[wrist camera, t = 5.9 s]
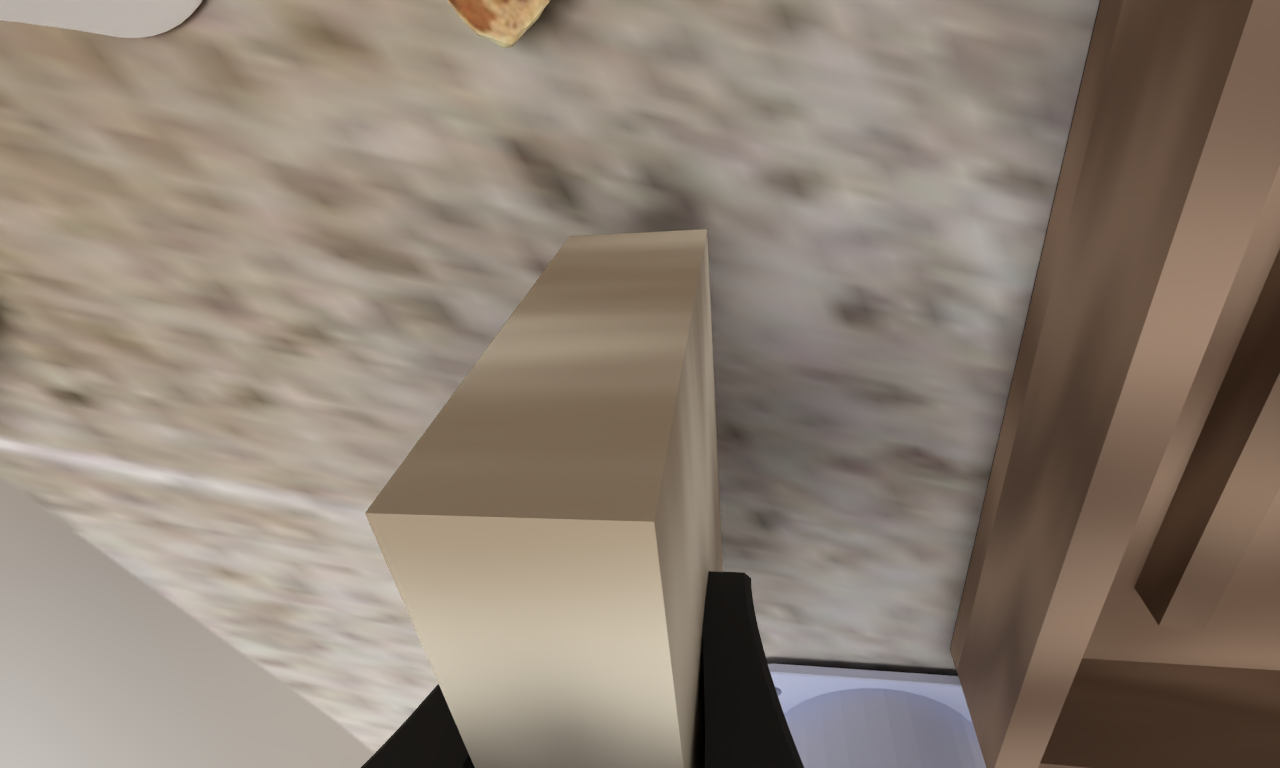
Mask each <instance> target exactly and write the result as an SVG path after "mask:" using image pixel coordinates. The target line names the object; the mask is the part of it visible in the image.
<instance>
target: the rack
mask: <svg viewBox="0 0 1280 768" xmlns="http://www.w3.org/2000/svg"><path fill="white" fill-rule="evenodd" d="M950 650H951V654H952V657H953V660H954V664H955V667H956V670H957V673H958V677H959V680H960V683H961V686H962V690H963V693H964V696H965V699H966V703H967V706H968V709H969V713H970V716H971V719H972V722H973V726H974V729H975V732H976V735H977V739H978V742H979V745H980V749H981V752H982V755H983V758H984V762H985V765H986V768H1280V0H1101V1H1100V5H1099V10H1098V14H1097V18H1096V23H1095V27H1094V31H1093V36H1092V40H1091V44H1090V48H1089V53H1088V57H1087V61H1086V66H1085V70H1084V74H1083V79H1082V83H1081V87H1080V92H1079V96H1078V100H1077V104H1076V109H1075V113H1074V117H1073V122H1072V126H1071V130H1070V135H1069V139H1068V143H1067V148H1066V152H1065V156H1064V160H1063V165H1062V169H1061V173H1060V178H1059V182H1058V186H1057V191H1056V195H1055V199H1054V204H1053V208H1052V212H1051V217H1050V221H1049V225H1048V229H1047V234H1046V238H1045V242H1044V247H1043V251H1042V255H1041V260H1040V264H1039V268H1038V273H1037V277H1036V281H1035V285H1034V290H1033V294H1032V298H1031V303H1030V307H1029V311H1028V316H1027V320H1026V324H1025V329H1024V333H1023V337H1022V341H1021V346H1020V350H1019V354H1018V359H1017V363H1016V367H1015V372H1014V376H1013V380H1012V385H1011V389H1010V393H1009V397H1008V402H1007V406H1006V410H1005V415H1004V419H1003V423H1002V428H1001V432H1000V436H999V441H998V445H997V449H996V454H995V458H994V462H993V466H992V471H991V475H990V479H989V484H988V488H987V492H986V497H985V501H984V505H983V510H982V514H981V518H980V522H979V527H978V531H977V535H976V540H975V544H974V548H973V553H972V557H971V561H970V566H969V570H968V574H967V578H966V583H965V587H964V591H963V596H962V600H961V604H960V609H959V613H958V617H957V622H956V626H955V630H954V635H953V639H952V643H951V647H950Z"/></svg>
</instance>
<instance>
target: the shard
mask: <svg viewBox="0 0 1280 768" xmlns="http://www.w3.org/2000/svg"><path fill="white" fill-rule="evenodd" d="M447 1H448V2H449V3H450V4H451V6H452V7H453V8H454V10H455V11H456V12H457V14H458V15H459V17H460V18H461V19H462V20H463V21H464V22H465V23H466V24H467V25H468V26H469V27H470V28H471V29H472V30H473V31H474V32H475V33H476V34H477V35H479V36H481V37H483V38H486V39H488V40H491V41H493V42H494V43H496V44H498V45H499V46H501V47H503V48H507V47H512V46H513V45H514V44H515V43H516V42H517V41H518V39H519V38H520V37H521V36H522V35H523V34H524V33H525V32H526V31H527V30H528V29H529V28H530V27H531V26H532V25H533V24H534V23H535V22H536V20H537V19H538V18H539V17H540V15H541V14H542V12H543V10H544V8H545V7H546V5H547V4H548V3H549V2H550V0H447Z"/></svg>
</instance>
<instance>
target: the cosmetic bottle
mask: <svg viewBox="0 0 1280 768" xmlns="http://www.w3.org/2000/svg"><path fill="white" fill-rule="evenodd" d="M201 2H202V0H0V20H3V21H12V22H21V23H29V24H36V25H43V26H51V27H58V28H65V29H72V30H79V31H85V32H91V33H96V34H102V35H108V36H114V37H120V38H142V37H149V36H155V35H158V34H161V33H164V32H167V31H169V30H171V29H173V28H174V27H176V26H178V25H180V24H181V23H182V22H183V21H185V20H186V19H187V18H188V17H189V16H191V15H192V13H193V12H194V11H195V10H196V9H197V7H198V6H199V5H200V4H201Z"/></svg>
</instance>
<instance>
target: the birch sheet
mask: <svg viewBox="0 0 1280 768" xmlns="http://www.w3.org/2000/svg"><path fill="white" fill-rule="evenodd" d="M365 514H366V516H367V519H368V521H369V523H370V526H371V528H372V530H373V533H374V535H375V537H376V540H377V542H378V544H379V547H380V549H381V551H382V554H383V556H384V558H385V561H386V563H387V565H388V568H389V570H390V572H391V575H392V577H393V579H394V581H395V584H396V586H397V588H398V591H399V593H400V595H401V598H402V600H403V602H404V605H405V607H406V609H407V612H408V614H409V616H410V619H411V621H412V623H413V626H414V628H415V630H416V633H417V635H418V637H419V640H420V642H421V644H422V647H423V649H424V651H425V653H426V656H427V658H428V660H429V663H430V665H431V667H432V670H433V672H434V674H435V677H436V679H437V681H438V684H439V686H440V688H441V691H442V693H443V695H444V698H445V700H446V702H447V705H448V707H449V709H450V712H451V714H452V716H453V719H454V721H455V723H456V725H457V728H458V730H459V732H460V735H461V737H462V739H463V742H464V744H465V746H466V749H467V751H468V753H469V756H470V758H471V760H472V763H473V765H474V767H475V768H705V705H704V665H703V616H704V606H705V597H706V588H707V580H708V572H709V571H714V572H723V557H722V536H721V515H720V493H719V472H718V450H717V429H716V408H715V386H714V365H713V344H712V322H711V301H710V279H709V258H708V237H707V229H700V230H681V231H662V232H643V233H624V234H605V235H586V236H570V237H569V238H568V239H567V241H566V242H565V243H564V245H563V246H562V248H561V249H560V250H559V252H558V253H557V254H556V256H555V257H554V258H553V260H552V261H551V262H550V264H549V265H548V266H547V268H546V269H545V271H544V272H543V273H542V275H541V276H540V277H539V279H538V280H537V281H536V283H535V284H534V285H533V287H532V288H531V289H530V291H529V292H528V294H527V295H526V296H525V298H524V299H523V300H522V302H521V303H520V304H519V306H518V307H517V308H516V310H515V311H514V312H513V314H512V315H511V317H510V318H509V319H508V321H507V322H506V323H505V325H504V326H503V327H502V329H501V330H500V331H499V333H498V334H497V335H496V337H495V338H494V340H493V341H492V342H491V344H490V345H489V346H488V348H487V349H486V350H485V352H484V353H483V354H482V356H481V357H480V358H479V360H478V361H477V363H476V364H475V365H474V367H473V368H472V369H471V371H470V372H469V373H468V375H467V376H466V377H465V379H464V380H463V381H462V383H461V384H460V386H459V387H458V388H457V390H456V391H455V392H454V394H453V395H452V396H451V398H450V399H449V400H448V402H447V403H446V404H445V406H444V407H443V409H442V410H441V411H440V413H439V414H438V415H437V417H436V418H435V419H434V421H433V422H432V423H431V425H430V426H429V427H428V429H427V430H426V432H425V433H424V434H423V436H422V437H421V438H420V440H419V441H418V442H417V444H416V445H415V446H414V448H413V449H412V450H411V452H410V453H409V455H408V456H407V457H406V459H405V460H404V461H403V463H402V464H401V465H400V467H399V468H398V469H397V471H396V472H395V473H394V475H393V476H392V478H391V479H390V480H389V482H388V483H387V484H386V486H385V487H384V488H383V490H382V491H381V492H380V494H379V495H378V496H377V498H376V499H375V501H374V502H373V503H372V505H371V506H370V507H369V509H368V510H367V511H366V513H365Z"/></svg>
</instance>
